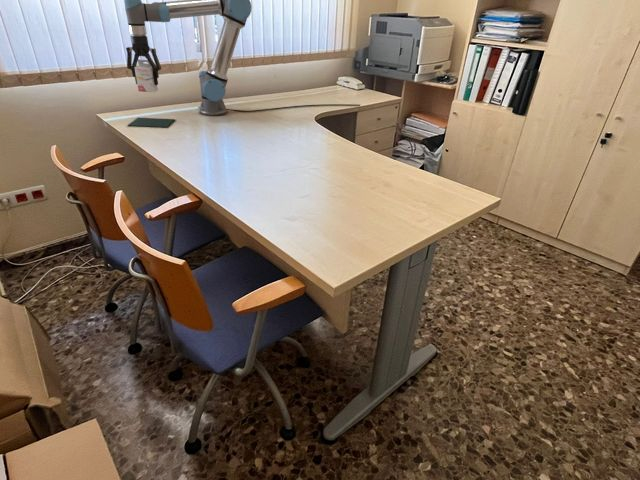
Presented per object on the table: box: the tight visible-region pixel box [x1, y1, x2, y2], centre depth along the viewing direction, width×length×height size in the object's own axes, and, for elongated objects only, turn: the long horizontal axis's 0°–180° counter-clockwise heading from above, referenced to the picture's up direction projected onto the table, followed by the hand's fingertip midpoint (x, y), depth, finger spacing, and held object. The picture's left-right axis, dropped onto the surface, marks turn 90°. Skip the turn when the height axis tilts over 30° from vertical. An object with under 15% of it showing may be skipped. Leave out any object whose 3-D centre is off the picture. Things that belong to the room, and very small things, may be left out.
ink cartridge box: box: [134, 58, 159, 93], centre depth 201 cm, size 9×5×15 cm, turn 84°
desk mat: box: [127, 117, 176, 129], centre depth 210 cm, size 20×14×1 cm
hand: (147, 84), depth 203 cm, fingers closed on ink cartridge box, 9 cm apart
